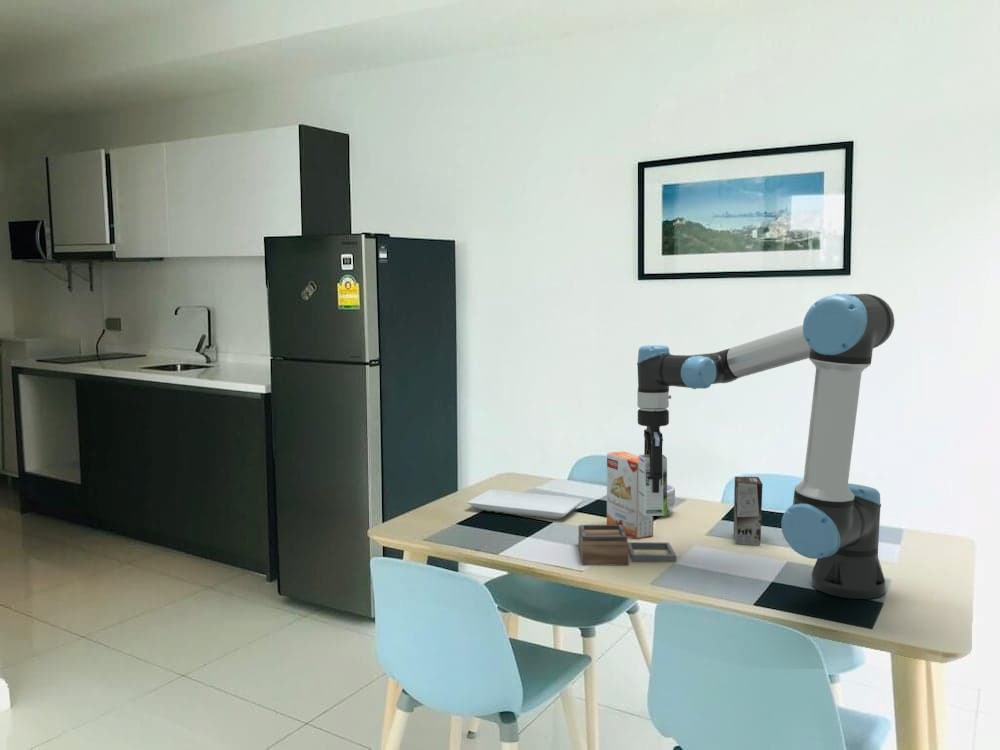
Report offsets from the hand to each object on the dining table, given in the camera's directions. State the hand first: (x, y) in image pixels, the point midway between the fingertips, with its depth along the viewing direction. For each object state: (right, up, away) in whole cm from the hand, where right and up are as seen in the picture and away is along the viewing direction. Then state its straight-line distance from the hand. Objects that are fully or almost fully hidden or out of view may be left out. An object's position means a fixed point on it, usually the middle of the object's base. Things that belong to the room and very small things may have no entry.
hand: (652, 501), depth 207 cm
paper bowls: (+6, -10, +40) cm, 42 cm away
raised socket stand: (-12, -13, +2) cm, 18 cm away
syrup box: (0, -3, 0) cm, 3 cm away
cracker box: (-3, -12, +22) cm, 25 cm away
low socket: (0, -13, +2) cm, 14 cm away
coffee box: (+27, -12, +14) cm, 33 cm away
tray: (-30, -10, +44) cm, 54 cm away
